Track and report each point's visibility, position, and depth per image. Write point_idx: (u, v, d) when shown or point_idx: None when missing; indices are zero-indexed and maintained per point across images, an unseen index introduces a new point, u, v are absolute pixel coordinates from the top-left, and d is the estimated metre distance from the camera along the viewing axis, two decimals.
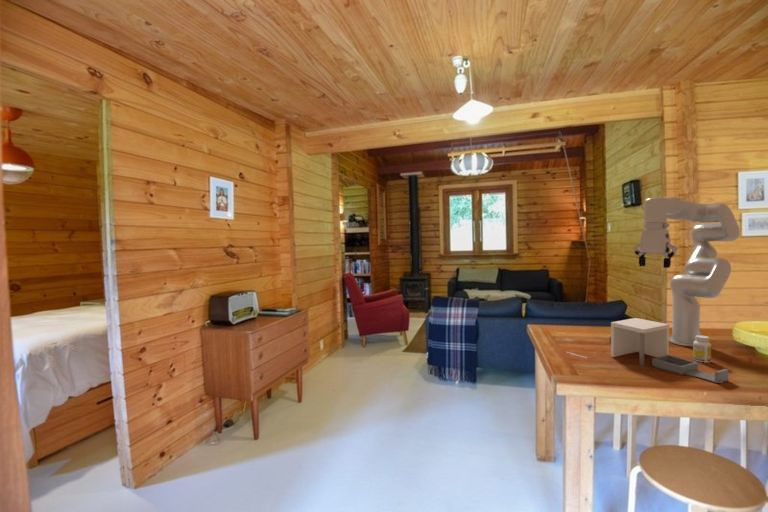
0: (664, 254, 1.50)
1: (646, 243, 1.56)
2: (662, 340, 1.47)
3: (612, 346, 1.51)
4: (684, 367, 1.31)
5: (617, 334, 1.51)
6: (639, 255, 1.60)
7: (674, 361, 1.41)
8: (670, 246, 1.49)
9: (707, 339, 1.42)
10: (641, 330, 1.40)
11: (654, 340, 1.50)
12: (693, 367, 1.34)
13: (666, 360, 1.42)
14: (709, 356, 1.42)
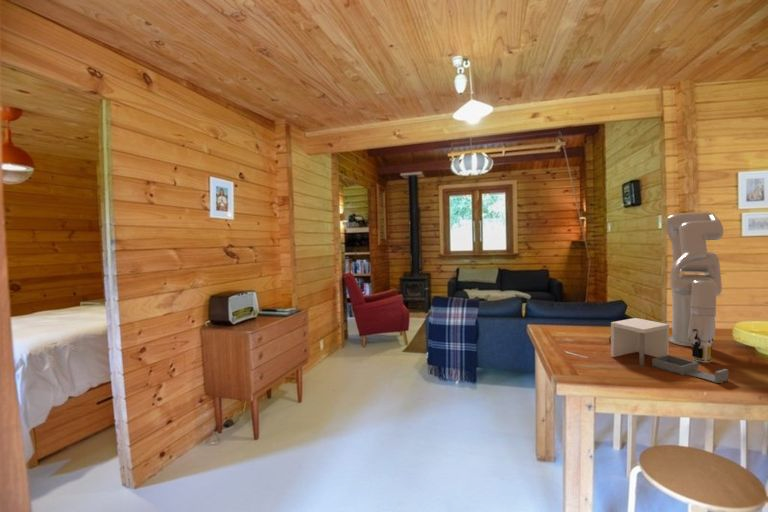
0: (711, 341, 1.44)
1: (707, 330, 1.41)
2: (662, 340, 1.47)
3: (612, 346, 1.51)
4: (684, 367, 1.31)
5: (617, 334, 1.51)
6: (700, 346, 1.42)
7: (674, 361, 1.41)
8: None
9: None
10: (641, 330, 1.40)
11: (654, 340, 1.50)
12: (693, 367, 1.34)
13: (666, 360, 1.42)
14: (709, 356, 1.42)
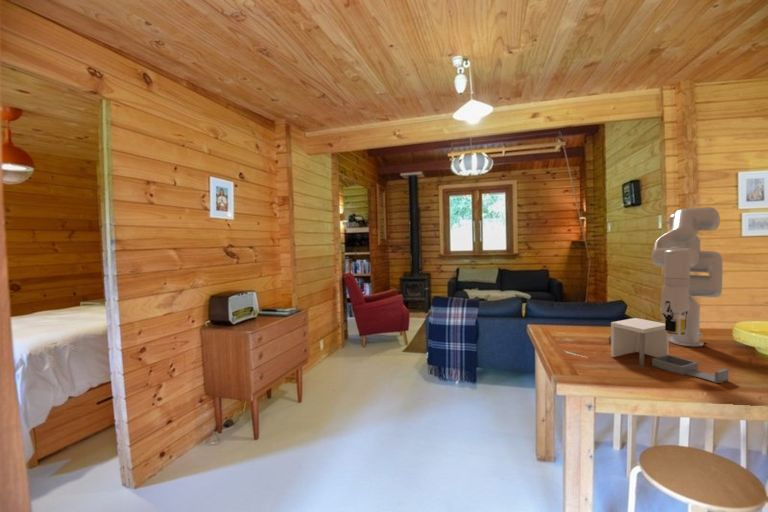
0: (685, 314, 1.36)
1: (680, 302, 1.33)
2: (662, 340, 1.47)
3: (612, 346, 1.51)
4: (684, 367, 1.31)
5: (617, 334, 1.51)
6: (673, 319, 1.34)
7: (674, 361, 1.41)
8: None
9: None
10: (641, 330, 1.40)
11: (654, 340, 1.50)
12: (693, 367, 1.34)
13: (666, 360, 1.42)
14: (683, 329, 1.34)
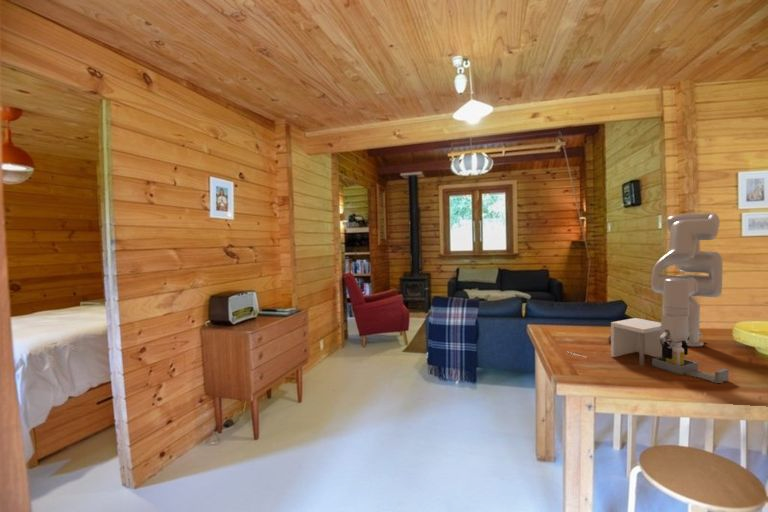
0: (686, 340, 1.37)
1: (679, 331, 1.34)
2: None
3: (612, 346, 1.51)
4: (684, 367, 1.31)
5: (617, 334, 1.51)
6: (670, 346, 1.34)
7: None
8: None
9: (680, 344, 1.35)
10: (641, 330, 1.40)
11: (654, 340, 1.50)
12: (693, 367, 1.34)
13: None
14: (682, 362, 1.35)
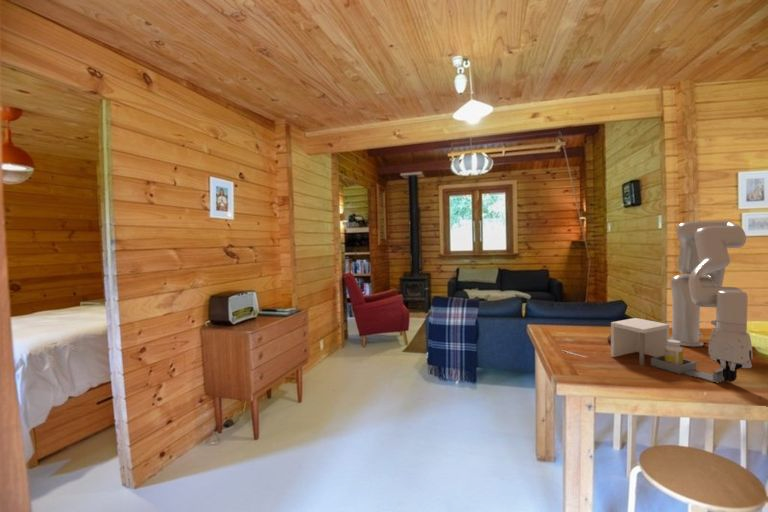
0: None
1: None
2: (662, 340, 1.47)
3: (612, 346, 1.51)
4: (682, 367, 1.32)
5: (617, 334, 1.51)
6: None
7: None
8: None
9: (679, 344, 1.36)
10: (641, 330, 1.40)
11: (654, 340, 1.50)
12: (691, 367, 1.34)
13: None
14: (680, 361, 1.35)
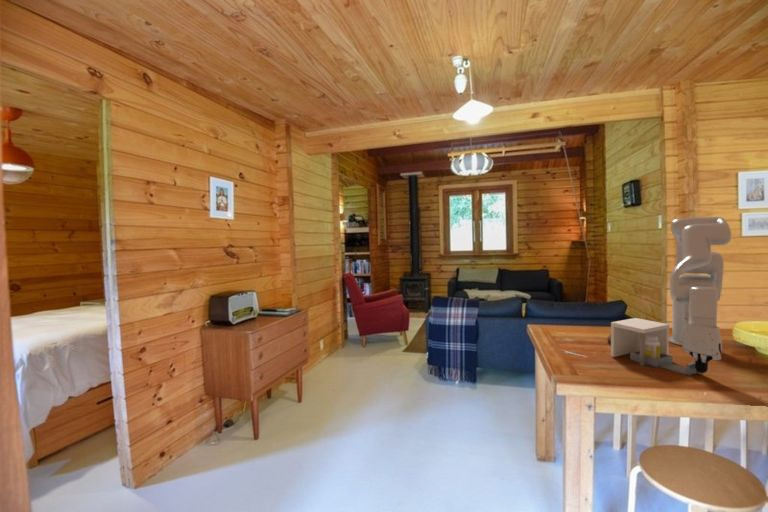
0: None
1: None
2: (662, 340, 1.47)
3: (612, 346, 1.51)
4: (659, 360, 1.39)
5: (617, 334, 1.51)
6: None
7: None
8: None
9: (656, 339, 1.43)
10: (641, 330, 1.40)
11: None
12: (668, 360, 1.41)
13: None
14: (658, 355, 1.42)
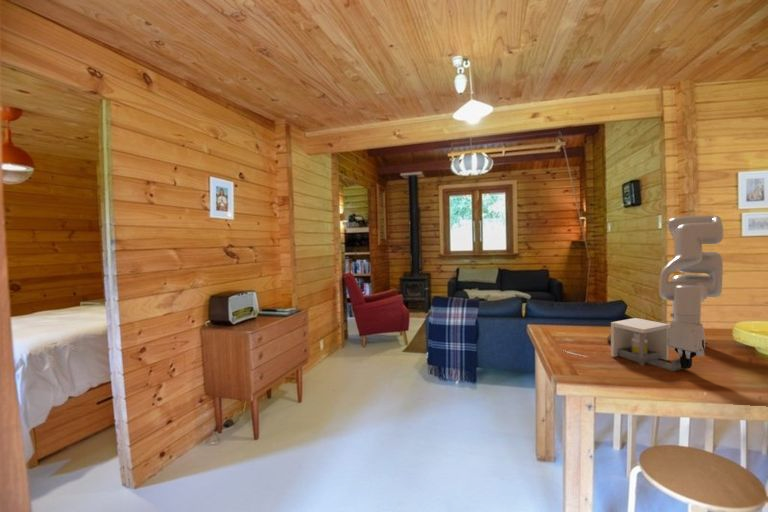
0: None
1: None
2: (662, 340, 1.47)
3: (612, 346, 1.51)
4: (646, 356, 1.43)
5: (617, 334, 1.51)
6: None
7: None
8: None
9: None
10: (641, 330, 1.40)
11: (654, 340, 1.50)
12: (654, 357, 1.45)
13: None
14: (645, 352, 1.46)
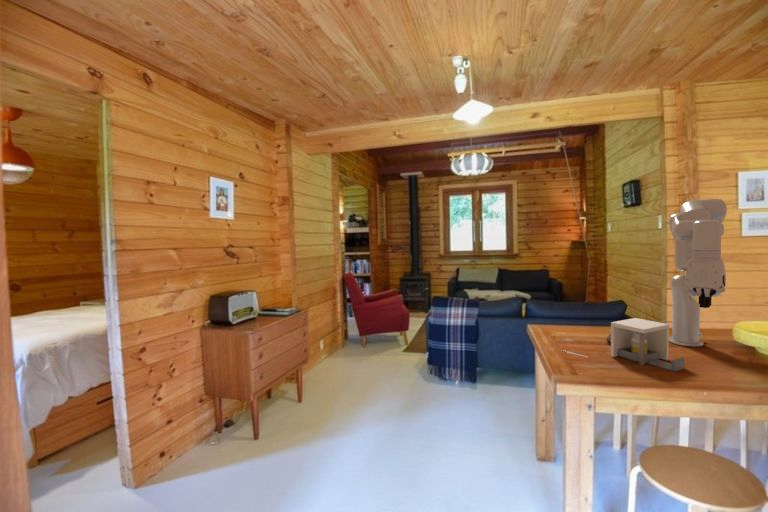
0: None
1: None
2: (662, 340, 1.47)
3: (612, 346, 1.51)
4: (646, 356, 1.43)
5: (617, 334, 1.51)
6: None
7: None
8: None
9: None
10: (641, 330, 1.40)
11: (654, 340, 1.50)
12: (654, 357, 1.45)
13: None
14: (645, 352, 1.46)
